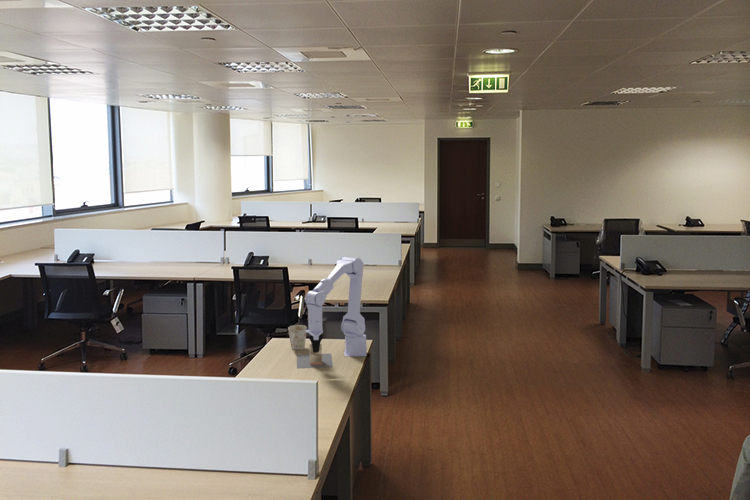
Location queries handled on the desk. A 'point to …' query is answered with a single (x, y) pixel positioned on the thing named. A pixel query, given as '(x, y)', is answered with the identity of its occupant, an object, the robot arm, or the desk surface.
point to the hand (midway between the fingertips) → (315, 352)
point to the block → (315, 355)
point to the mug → (297, 336)
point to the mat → (304, 362)
